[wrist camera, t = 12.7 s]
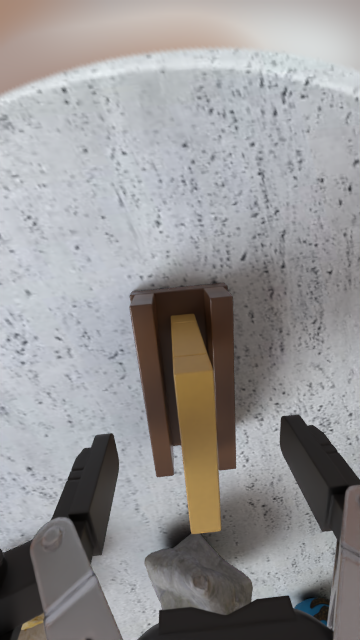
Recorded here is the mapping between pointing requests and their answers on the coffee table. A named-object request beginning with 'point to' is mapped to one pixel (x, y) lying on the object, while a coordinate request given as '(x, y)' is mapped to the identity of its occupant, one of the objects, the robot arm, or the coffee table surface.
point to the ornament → (315, 608)
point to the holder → (157, 364)
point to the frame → (196, 423)
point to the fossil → (197, 578)
